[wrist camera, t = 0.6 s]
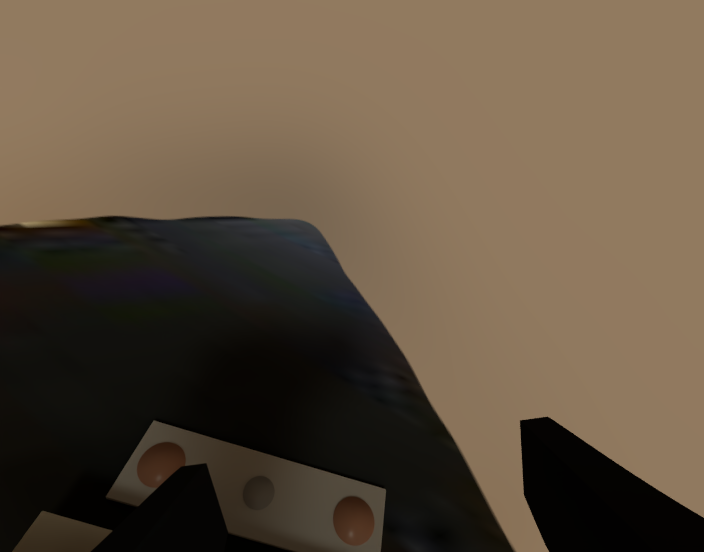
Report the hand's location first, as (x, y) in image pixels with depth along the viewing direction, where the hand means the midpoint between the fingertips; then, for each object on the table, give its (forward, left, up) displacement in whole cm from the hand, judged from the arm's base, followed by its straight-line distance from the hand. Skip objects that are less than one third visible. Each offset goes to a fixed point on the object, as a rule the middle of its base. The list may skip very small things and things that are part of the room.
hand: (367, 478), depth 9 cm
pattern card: (+6, +3, -19) cm, 20 cm away
